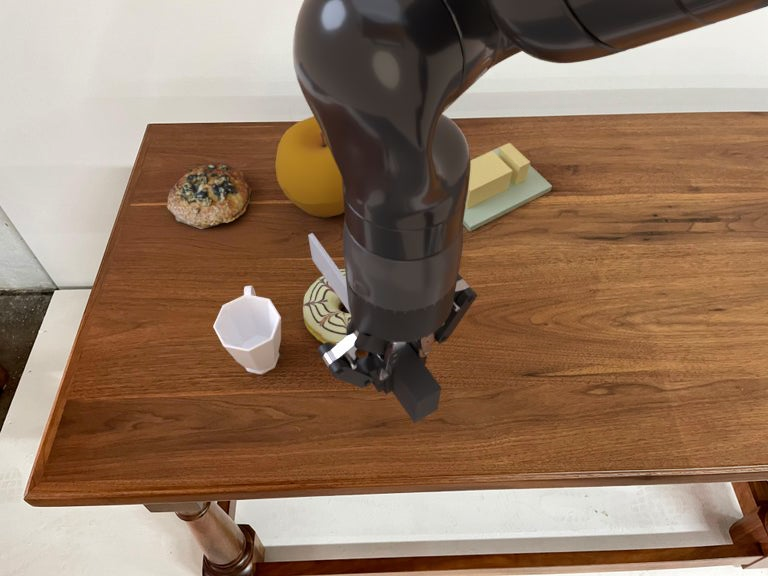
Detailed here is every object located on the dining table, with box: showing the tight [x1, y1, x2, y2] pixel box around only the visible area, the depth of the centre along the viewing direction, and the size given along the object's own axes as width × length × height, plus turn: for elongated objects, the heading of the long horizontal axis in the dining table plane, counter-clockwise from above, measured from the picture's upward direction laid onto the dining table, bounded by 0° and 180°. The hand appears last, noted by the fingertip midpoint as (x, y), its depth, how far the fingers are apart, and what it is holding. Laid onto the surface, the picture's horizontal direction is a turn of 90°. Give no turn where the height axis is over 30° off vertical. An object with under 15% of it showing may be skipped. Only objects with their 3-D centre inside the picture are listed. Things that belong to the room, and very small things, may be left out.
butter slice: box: [498, 142, 531, 185], centre depth 83 cm, size 4×2×4 cm, turn 32°
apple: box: [274, 115, 344, 219], centre depth 78 cm, size 13×13×11 cm
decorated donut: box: [302, 268, 351, 345], centre depth 71 cm, size 10×11×4 cm
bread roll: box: [166, 162, 252, 230], centre depth 81 cm, size 11×11×5 cm
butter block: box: [466, 150, 513, 209], centre depth 81 cm, size 4×7×4 cm, turn 122°
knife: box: [308, 232, 442, 424], centre depth 54 cm, size 2×20×4 cm, turn 32°
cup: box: [212, 284, 282, 375], centre depth 67 cm, size 7×10×8 cm
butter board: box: [463, 143, 553, 232], centre depth 84 cm, size 10×14×1 cm
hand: (397, 375), depth 53 cm, fingers closed on knife, 2 cm apart
